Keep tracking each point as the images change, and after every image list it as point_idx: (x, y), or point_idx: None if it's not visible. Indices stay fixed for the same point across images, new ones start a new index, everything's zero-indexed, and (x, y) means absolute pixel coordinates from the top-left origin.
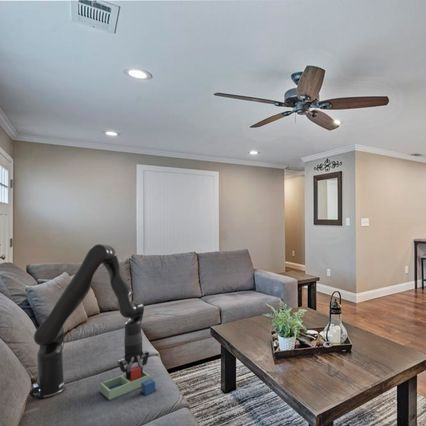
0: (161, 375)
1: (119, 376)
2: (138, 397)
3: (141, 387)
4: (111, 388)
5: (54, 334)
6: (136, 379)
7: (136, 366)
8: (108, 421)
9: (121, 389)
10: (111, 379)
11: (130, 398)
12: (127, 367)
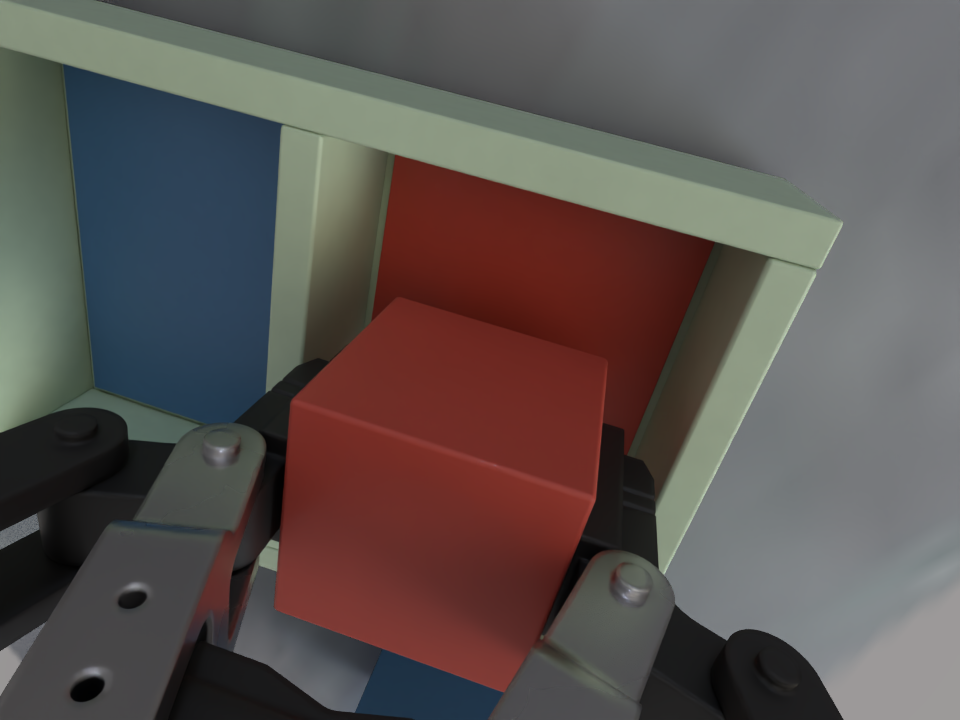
0: (923, 560)
1: (263, 105)
2: (320, 644)
3: (373, 671)
4: (169, 149)
5: None
6: (590, 309)
7: (529, 535)
8: (13, 652)
9: None
10: (83, 56)
11: (262, 582)
12: (195, 524)
